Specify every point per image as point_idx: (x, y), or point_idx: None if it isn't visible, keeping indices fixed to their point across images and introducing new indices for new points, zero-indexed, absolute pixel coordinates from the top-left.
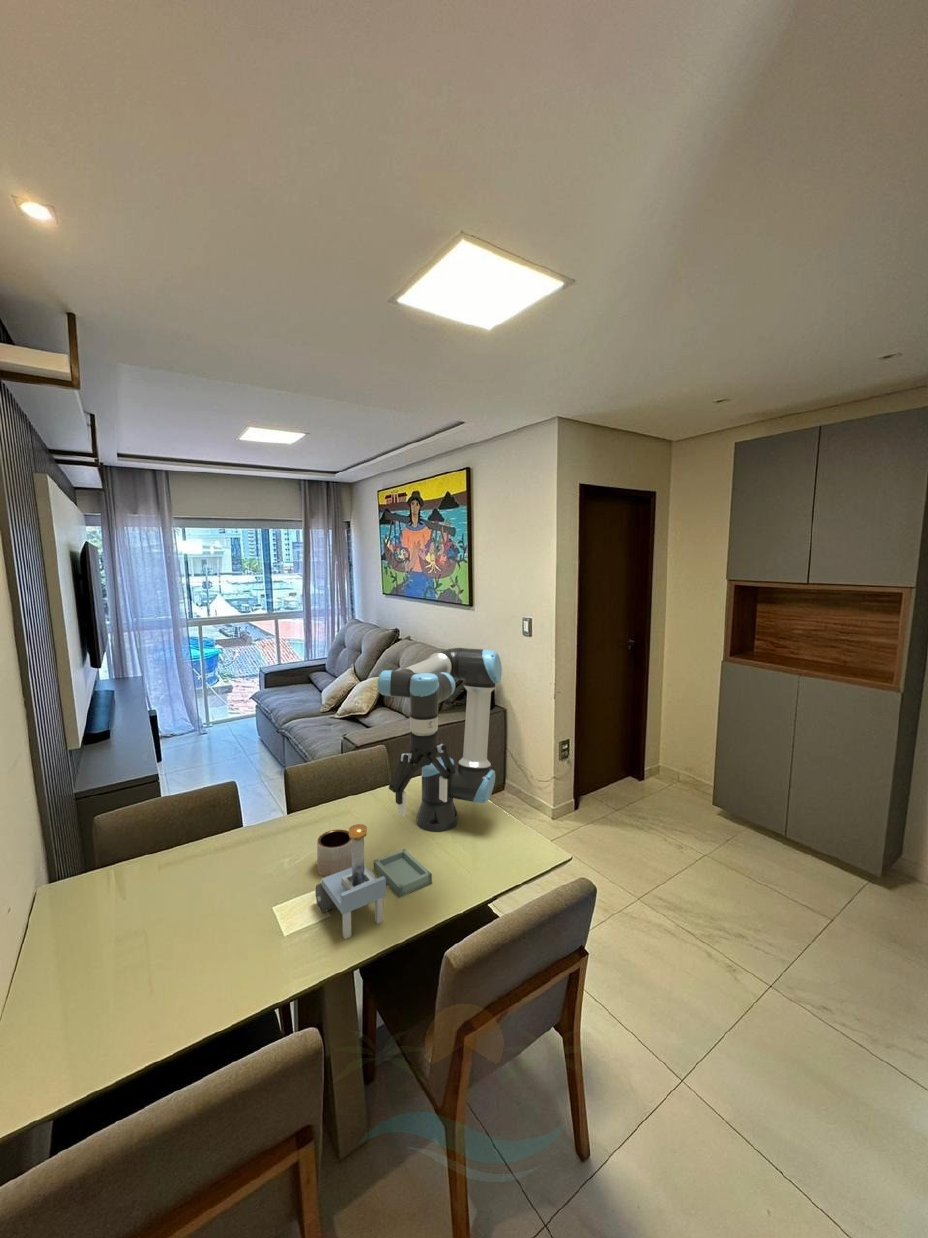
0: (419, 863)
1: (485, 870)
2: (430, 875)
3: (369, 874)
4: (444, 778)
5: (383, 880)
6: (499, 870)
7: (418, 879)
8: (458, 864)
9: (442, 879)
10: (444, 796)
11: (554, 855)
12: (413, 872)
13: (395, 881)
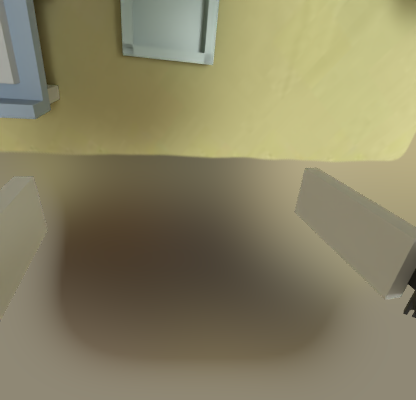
0: (216, 2)
1: (307, 106)
2: (208, 64)
3: (4, 41)
4: (404, 280)
5: (28, 118)
6: (322, 123)
7: (176, 60)
8: (290, 50)
9: (232, 69)
10: (312, 223)
11: (404, 152)
12: (194, 4)
13: (126, 24)
